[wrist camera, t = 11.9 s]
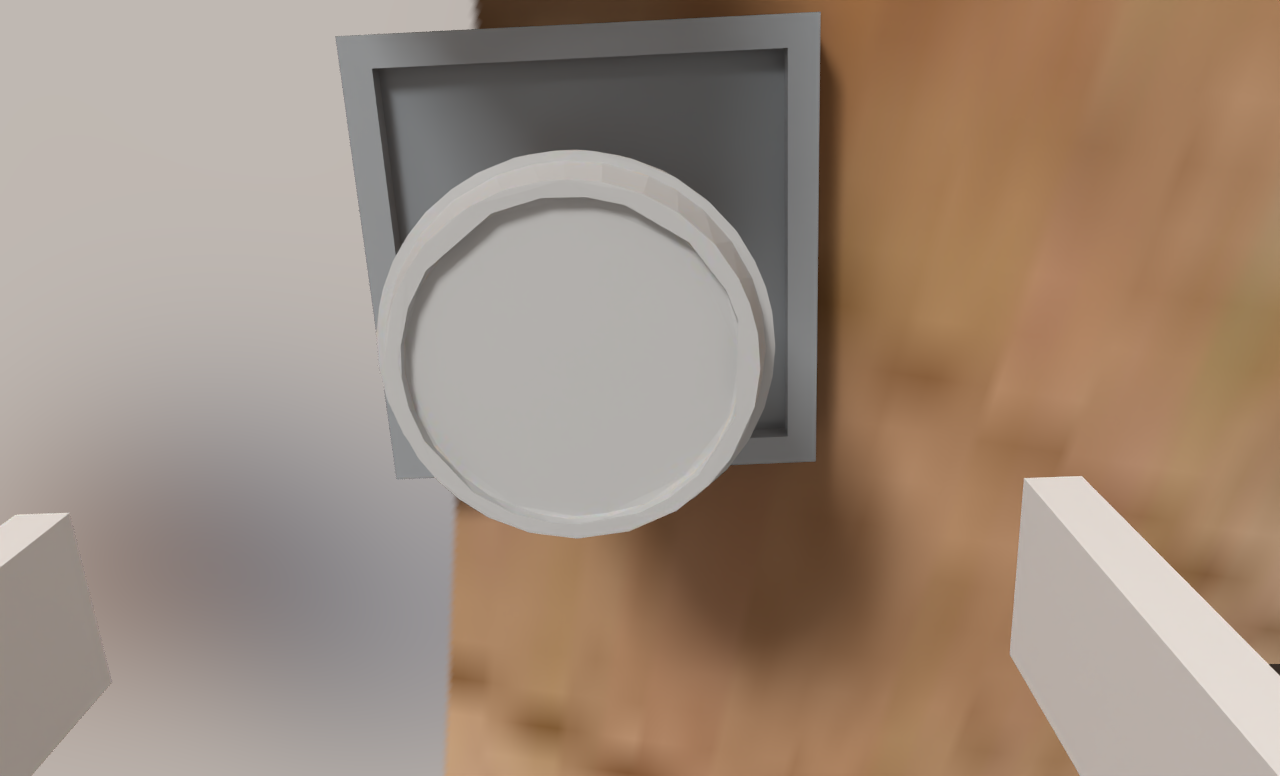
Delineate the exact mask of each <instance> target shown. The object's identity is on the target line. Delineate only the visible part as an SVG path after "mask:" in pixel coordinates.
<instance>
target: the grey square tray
mask: <svg viewBox="0 0 1280 776" xmlns="http://www.w3.org/2000/svg"><path fill="white" fill-rule="evenodd" d="M336 44H337V50H338V59H339V66H340V72H341V80H342V88H343V95H344V102H345V109H346V117H347V124H348V131H349V138H350V146H351V152H352V160H353V167H354V175H355V182H356V189H357V196H358V203H359V211H360V217H361V225H362V232H363V239H364V247H365V254H366V262H367V269H368V276H369V283H370V290H371V298H372V305H373V312H374V320H375V327H376V333H377V323H378V313H379V305H380V300H381V296H382V291H383V287H384V285H385V282H386V279H387V276H388V273H389V271H390V268H391V265H392V262H393V260H394V258H395V256H396V255H397V253H398V251H399V249H400V248H401V246H402V244H403V243H404V241H405V239H406V237H407V236H408V234H409V233H410V232H411V230H412V229H413V228H414V226H415V225H416V224H417V223H418V221H419V220H420V219H421V217H422V216H423V215H424V214H425V212H426V211H427V210H429V209H430V208H431V207H432V206H433V205H434V204H435V203H436V202H438V201H439V200H440V199H441V198H442V197H443V196H444V195H446V194H447V193H448V192H449V191H450V190H451V189H453V188H454V187H456V186H457V185H459V184H461V183H462V182H464V181H465V180H467V179H468V178H470V177H472V176H473V175H475V174H476V173H478V172H481V171H483V170H486V169H488V168H490V167H493V166H495V165H498V164H500V163H503V162H505V161H508V160H510V159H512V158H515V157H520V156H524V155H529V154H536V153H543V152H549V151H559V150H587V151H596V152H602V153H608V154H614V155H619V156H623V157H627V158H631V159H634V160H637V161H639V162H642V163H645V164H647V165H650V166H653V167H655V168H658V169H660V170H663V171H665V172H666V173H668V174H670V175H672V176H674V177H676V178H677V179H679V180H680V181H681V182H683V183H684V184H686V185H687V186H688V187H690V188H691V189H693V190H694V191H695V192H697V193H698V194H700V195H701V196H702V197H704V198H705V199H706V200H707V201H709V202H710V203H711V204H712V205H713V206H714V207H715V209H716V210H717V211H718V212H719V213H720V214H721V215H722V216H723V217H724V218H725V219H726V220H727V221H728V222H729V223H730V224H731V226H732V227H733V228H734V229H735V230H736V231H737V232H738V234H739V236H740V237H741V239H742V241H743V242H744V244H745V246H746V247H747V249H748V251H749V252H750V254H751V256H752V257H753V259H754V261H755V262H756V265H757V267H758V270H759V272H760V274H761V277H762V279H763V281H764V284H765V286H766V289H767V293H768V297H769V301H770V305H771V309H772V315H773V326H774V337H775V355H774V367H773V377H772V381H771V385H770V388H769V392H768V396H767V400H766V404H765V407H764V410H763V412H762V414H761V416H760V418H759V420H758V422H757V424H756V426H755V428H754V431H753V433H752V435H751V437H750V439H749V441H748V442H747V443H746V445H745V446H744V447H743V449H742V450H741V451H740V453H739V454H738V455H737V457H736V458H735V459H734V461H733V462H732V463H731V465H744V464H768V463H791V462H814V461H816V398H817V301H818V204H819V108H820V12H808V13H788V14H768V15H748V16H729V17H709V18H689V19H669V20H649V21H630V22H610V23H590V24H570V25H550V26H531V27H511V28H491V29H471V30H451V31H432V32H412V33H393V34H373V35H354V36H353V35H352V36H336ZM384 392H385V389H384ZM385 399H386V407H387V414H388V421H389V429H390V436H391V443H392V450H393V457H394V465H395V472H396V479H415V478H435V477H434V476H433V475H432V474H431V472H430V471H429V470H428V469H427V468H426V467H425V465H424V464H423V463H422V462H421V461H420V460H419V458H418V457H417V455H416V453H415V452H414V450H413V448H412V446H411V445H410V443H409V441H408V440H407V438H406V437H405V436H404V434H403V432H402V430H401V428H400V426H399V424H398V421H397V419H396V417H395V415H394V413H393V411H392V409H391V406H390V404H389V402H388V400H387V397H386V393H385Z"/></svg>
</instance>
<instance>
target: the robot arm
mask: <svg viewBox="0 0 1280 776" xmlns="http://www.w3.org/2000/svg"><path fill="white" fill-rule="evenodd" d="M1010 656H1011V657H1012V659H1013V661H1014V663H1015V664H1016V666H1017V668H1018V669H1019V671H1020V673H1021V675H1022V676H1023V678H1024V680H1025V682H1026V683H1027V685H1028V687H1029V688H1030V690H1031V692H1032V694H1033V695H1034V697H1035V699H1036V700H1037V702H1038V704H1039V706H1040V707H1041V709H1042V711H1043V712H1044V714H1045V716H1046V718H1047V719H1048V721H1049V723H1050V725H1051V726H1052V728H1053V730H1054V731H1055V733H1056V735H1057V737H1058V738H1059V740H1060V742H1061V743H1062V745H1063V747H1064V749H1065V750H1066V752H1067V754H1068V755H1069V757H1070V759H1071V761H1072V762H1073V764H1074V766H1075V767H1076V769H1077V771H1078V773H1079V774H1080V776H1280V664H1268V663H1267V662H1266V661H1265V660H1264V659H1263V658H1262V657H1261V656H1260V655H1259V654H1258V653H1257V652H1256V651H1255V650H1254V649H1253V648H1252V647H1251V646H1250V645H1249V644H1248V643H1247V642H1246V641H1245V640H1244V639H1243V638H1242V637H1241V636H1240V635H1239V634H1238V633H1237V632H1236V631H1235V630H1234V629H1233V628H1232V627H1231V626H1230V625H1229V624H1228V623H1227V622H1226V621H1225V620H1224V619H1223V618H1222V617H1221V616H1220V615H1219V614H1218V613H1217V612H1216V611H1215V610H1214V609H1213V608H1212V607H1211V606H1210V605H1209V604H1208V603H1207V602H1206V601H1205V600H1204V599H1203V598H1202V597H1201V596H1200V595H1199V594H1198V593H1197V592H1196V591H1195V590H1194V589H1193V588H1192V587H1191V586H1190V585H1189V584H1188V583H1187V582H1186V581H1185V580H1184V579H1183V578H1182V577H1181V576H1180V575H1179V574H1178V573H1177V572H1176V571H1175V570H1174V569H1173V568H1172V567H1171V566H1170V565H1169V564H1168V563H1167V562H1166V561H1165V560H1164V559H1163V558H1162V557H1161V556H1160V555H1159V554H1158V553H1157V552H1156V551H1155V550H1154V549H1153V548H1152V547H1151V546H1150V545H1149V544H1148V543H1147V542H1146V541H1145V540H1144V539H1143V538H1142V537H1141V536H1140V534H1139V533H1138V532H1137V531H1136V530H1135V529H1134V528H1133V527H1132V526H1131V525H1130V524H1129V523H1128V522H1127V521H1126V520H1125V519H1124V518H1123V517H1122V516H1121V515H1120V514H1119V513H1118V512H1117V511H1116V510H1115V509H1114V508H1113V507H1112V506H1111V505H1110V504H1109V503H1108V502H1107V501H1106V500H1105V499H1104V498H1103V497H1102V496H1101V495H1100V494H1099V493H1098V492H1097V491H1096V490H1095V489H1094V488H1093V487H1092V486H1091V485H1090V484H1089V483H1088V482H1087V481H1086V480H1085V479H1084V478H1083V477H1082V476H1072V477H1044V478H1024V485H1023V498H1022V510H1021V522H1020V535H1019V547H1018V559H1017V572H1016V584H1015V596H1014V609H1013V621H1012V633H1011V646H1010ZM111 682H112V680H111V676H110V672H109V668H108V664H107V660H106V656H105V652H104V648H103V644H102V640H101V636H100V632H99V628H98V624H97V620H96V616H95V612H94V608H93V604H92V600H91V596H90V592H89V588H88V584H87V580H86V576H85V572H84V569H83V564H82V560H81V556H80V553H79V549H78V544H77V540H76V536H75V532H74V529H73V525H72V521H71V517H70V513H51V514H23V515H15V516H13V517H12V518H10V519H9V520H8V521H6V522H5V523H4V524H2V525H1V526H0V776H32V774H33V773H34V772H35V771H36V770H37V769H38V767H39V766H40V765H41V764H42V763H43V762H44V761H45V759H46V758H47V757H48V756H49V755H50V753H51V752H52V751H53V750H54V749H55V748H56V747H57V745H58V744H59V743H60V742H61V741H62V740H63V739H64V737H65V736H66V735H67V734H68V733H69V732H70V730H71V729H72V728H73V727H74V726H75V725H76V723H77V722H78V721H79V720H80V719H81V718H82V716H83V715H84V714H85V713H86V712H87V711H88V710H89V708H90V707H91V706H92V705H93V704H94V703H95V701H96V700H97V699H98V698H99V697H100V696H101V694H102V693H103V692H104V691H105V690H106V689H107V688H108V686H109V685H110V684H111Z"/></svg>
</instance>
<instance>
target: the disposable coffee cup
mask: <svg viewBox="0 0 1280 776" xmlns="http://www.w3.org/2000/svg"><path fill="white" fill-rule="evenodd" d="M376 337H377V349H378V361H379V370H380V374H381V377H382V382H383V385H384V389H385V393H386V397H387V400H388V402H389V404H390V406H391V409H392V411H393V413H394V415H395V417H396V419H397V421H398V424H399V426H400V428H401V430H402V432H403V434H404V436H405V437H406V438H407V440H408V441H409V443H410V445H411V446H412V448H413V450H414V452H415V453H416V455H417V457H418V458H419V460H420V461H421V462H422V463H423V464H424V465H425V467H426V468H427V469H428V470H429V471H430V472H431V474H432V475H433V476H434V477H435V478H436V479H437V480H438V482H440V483H441V484H442V485H443V486H444V487H445V488H447V489H448V490H449V491H450V492H451V493H452V494H453V495H455V496H456V497H457V498H458V499H460V500H461V501H463V502H464V503H466V504H468V505H469V506H471V507H472V508H474V509H476V510H477V511H479V512H480V513H482V514H484V515H485V516H487V517H489V518H491V519H494V520H497V521H499V522H502V523H505V524H508V525H510V526H513V527H516V528H518V529H521V530H524V531H527V532H529V533H537V534H545V535H554V536H562V537H570V538H584V537H591V536H599V535H606V534H613V533H620V532H627V531H631V530H633V529H636V528H638V527H640V526H642V525H645V524H647V523H649V522H652V521H654V520H656V519H659V518H661V517H663V516H666V515H668V514H670V513H672V512H675V511H677V510H678V509H679V508H681V507H682V506H683V505H684V504H686V503H687V502H688V501H690V500H691V499H693V498H695V497H696V496H697V495H699V494H700V493H701V492H702V491H703V490H704V489H705V488H706V487H708V486H709V485H710V484H711V483H712V482H713V481H714V480H716V479H717V478H718V477H719V476H720V475H721V474H722V473H724V472H725V471H726V470H727V469H728V467H729V466H730V465H731V463H732V462H733V461H734V459H735V458H736V457H737V455H738V454H739V453H740V451H741V450H742V449H743V447H744V446H745V445H746V443H747V442H748V441H749V439H750V437H751V435H752V433H753V431H754V428H755V426H756V424H757V422H758V420H759V418H760V416H761V414H762V412H763V410H764V407H765V404H766V400H767V396H768V392H769V388H770V385H771V381H772V377H773V367H774V355H775V337H774V326H773V315H772V309H771V305H770V301H769V297H768V293H767V289H766V286H765V284H764V281H763V279H762V277H761V274H760V272H759V270H758V267H757V265H756V262H755V261H754V259H753V257H752V256H751V254H750V252H749V251H748V249H747V247H746V246H745V244H744V242H743V241H742V239H741V237H740V236H739V234H738V232H737V231H736V230H735V229H734V228H733V227H732V226H731V224H730V223H729V222H728V221H727V220H726V219H725V218H724V217H723V216H722V215H721V214H720V213H719V212H718V211H717V210H716V209H715V207H714V206H713V205H712V204H711V203H710V202H709V201H707V200H706V199H705V198H704V197H702V196H701V195H700V194H698V193H697V192H695V191H694V190H693V189H691V188H690V187H688V186H687V185H686V184H684V183H683V182H681V181H680V180H679V179H677V178H676V177H674V176H672V175H670V174H668V173H666V172H665V171H663V170H660V169H658V168H655V167H653V166H650V165H647V164H645V163H642V162H639V161H637V160H634V159H631V158H627V157H623V156H619V155H614V154H608V153H602V152H596V151H587V150H559V151H549V152H543V153H536V154H529V155H524V156H520V157H515V158H512V159H510V160H508V161H505V162H503V163H500V164H498V165H495V166H493V167H490V168H488V169H486V170H483V171H481V172H478V173H476V174H475V175H473V176H472V177H470V178H468V179H467V180H465V181H464V182H462V183H461V184H459V185H457V186H456V187H454V188H453V189H451V190H450V191H449V192H448V193H447V194H446V195H444V196H443V197H442V198H441V199H440V200H439V201H438V202H436V203H435V204H434V205H433V206H432V207H431V208H430V209H429V210H427V211H426V212H425V214H424V215H423V216H422V217H421V219H420V220H419V221H418V223H417V224H416V225H415V226H414V228H413V229H412V230H411V232H410V233H409V234H408V236H407V237H406V239H405V241H404V243H403V244H402V246H401V248H400V249H399V251H398V253H397V255H396V256H395V258H394V260H393V262H392V265H391V268H390V271H389V273H388V276H387V279H386V282H385V285H384V287H383V291H382V296H381V300H380V305H379V313H378V323H377V333H376Z"/></svg>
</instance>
